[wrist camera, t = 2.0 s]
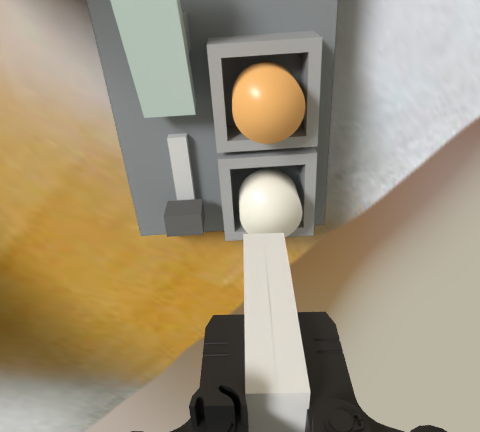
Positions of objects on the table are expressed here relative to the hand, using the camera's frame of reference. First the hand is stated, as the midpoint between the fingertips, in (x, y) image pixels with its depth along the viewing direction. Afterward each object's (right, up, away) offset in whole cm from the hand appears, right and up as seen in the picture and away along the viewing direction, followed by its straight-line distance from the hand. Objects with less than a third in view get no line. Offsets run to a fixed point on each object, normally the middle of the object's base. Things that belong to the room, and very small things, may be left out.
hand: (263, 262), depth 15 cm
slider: (-5, +2, +17) cm, 18 cm away
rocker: (-6, +12, +8) cm, 16 cm away
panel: (-2, +12, +17) cm, 21 cm away
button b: (+1, +10, +11) cm, 15 cm away
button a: (+1, +3, +15) cm, 16 cm away
